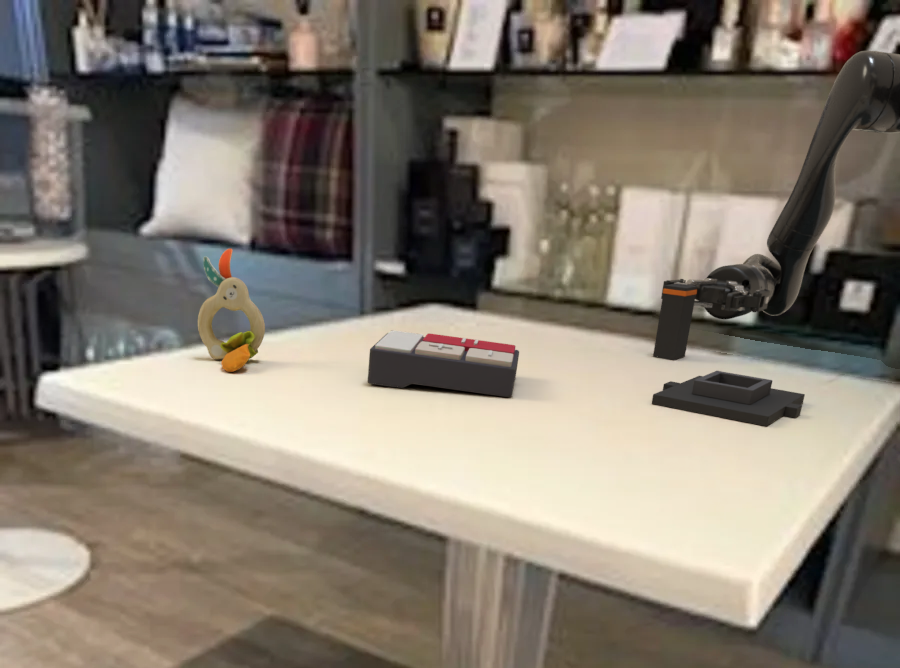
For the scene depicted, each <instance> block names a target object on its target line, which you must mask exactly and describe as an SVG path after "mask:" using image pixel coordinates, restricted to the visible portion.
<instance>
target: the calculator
mask: <svg viewBox="0 0 900 668" xmlns="http://www.w3.org/2000/svg"><path fill="white" fill-rule="evenodd" d="M519 357H520V350H519V349H516V345H514V344H510V343H502V342H496V341H487V340H481V339H474V338H473V339H472V338H467V337H458V336H451V335H444V334H436V333H427V334H426V335H425V336H424V334H423V333H416V332H410V331H401V330H396V329H395V330H394V329H392V330H390V331H389V332H387V333H385V334H384V335H383V336H382V337H381V338H380V339H379V340H378V341H377V342H376V343H375V344H374V345H372V346H371V348H370V349H369V357H368V369H367V371H368V372H367V383H368V384H369V385H377V386H383V387H391V388H399V389H404V388H406V387H408V386H410V385H419V386H426V387H431V388H432V387H433V388H439V389H440V388H441V389H447V390H454V391H461V392H469V393H475V394H476V393H477V394H482V395H483V394H484V395H490V396H496V397H505V398H511V397H512V396H513V394H514V393H513V392H514V387H515V382H516V376H517V371H518V363H519Z"/></svg>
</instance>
